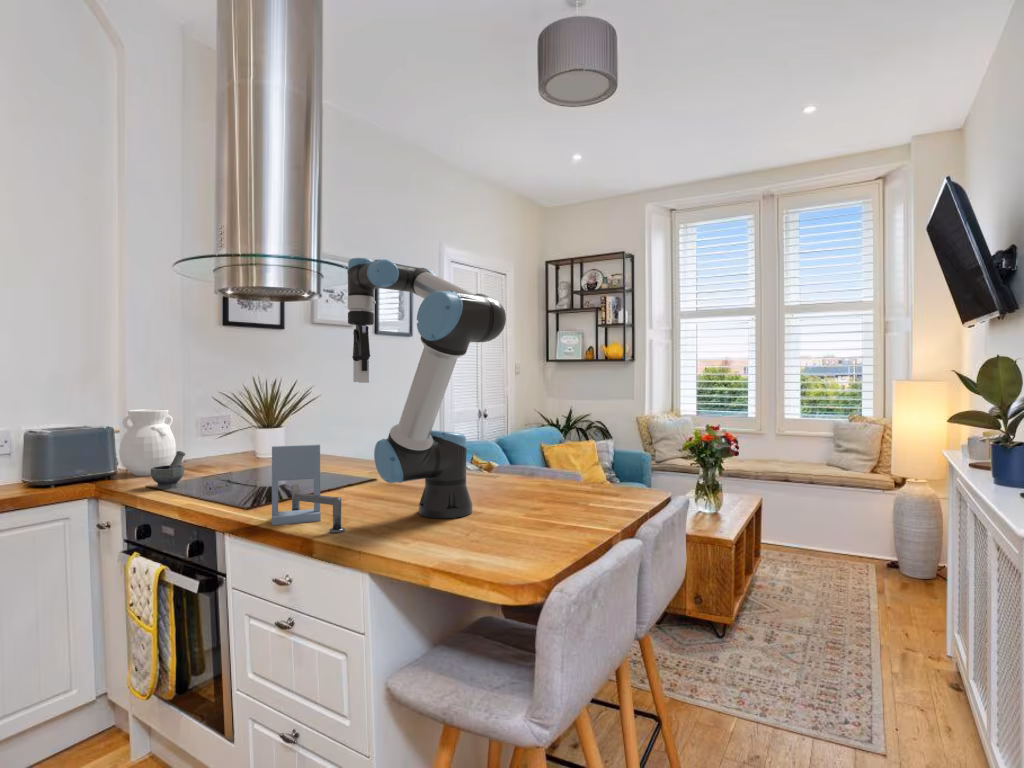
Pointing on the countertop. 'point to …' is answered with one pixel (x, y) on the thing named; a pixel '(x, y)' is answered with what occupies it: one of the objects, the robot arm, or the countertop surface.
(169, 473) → the mortar and pestle
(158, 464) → the white handled vase
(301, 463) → the blue-grey upright frame
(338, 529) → the grey bent bar frame
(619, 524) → the countertop surface
